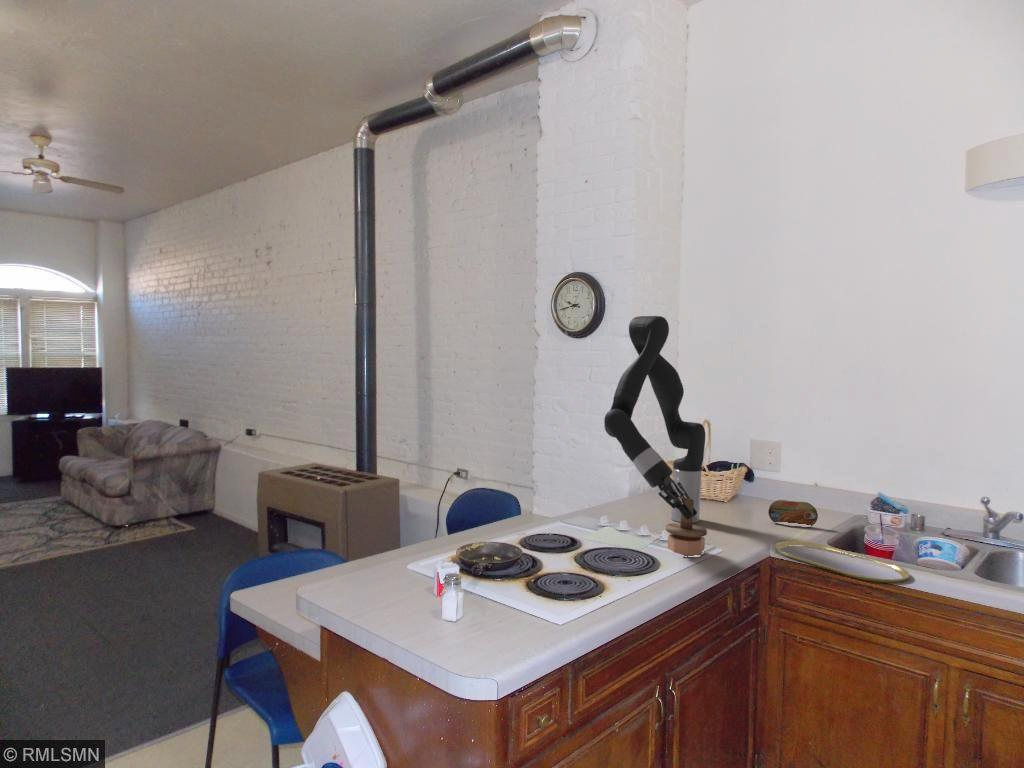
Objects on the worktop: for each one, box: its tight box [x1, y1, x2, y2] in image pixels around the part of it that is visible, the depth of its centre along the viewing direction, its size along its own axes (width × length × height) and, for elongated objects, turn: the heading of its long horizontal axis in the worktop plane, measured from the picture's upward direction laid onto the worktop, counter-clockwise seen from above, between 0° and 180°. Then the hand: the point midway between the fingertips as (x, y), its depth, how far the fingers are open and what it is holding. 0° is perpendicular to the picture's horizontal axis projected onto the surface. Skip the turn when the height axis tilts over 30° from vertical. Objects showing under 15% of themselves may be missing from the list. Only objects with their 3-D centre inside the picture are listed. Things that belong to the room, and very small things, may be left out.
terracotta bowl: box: [667, 533, 706, 557], centre depth 177 cm, size 9×9×4 cm
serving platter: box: [773, 540, 910, 584], centre depth 173 cm, size 19×35×2 cm, turn 31°
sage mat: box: [580, 526, 660, 551], centre depth 187 cm, size 18×18×1 cm
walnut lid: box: [665, 498, 708, 537], centre depth 177 cm, size 11×11×9 cm
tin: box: [767, 499, 819, 527], centre depth 213 cm, size 15×3×8 cm, turn 68°
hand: (692, 516), depth 176 cm, fingers closed on walnut lid, 3 cm apart
